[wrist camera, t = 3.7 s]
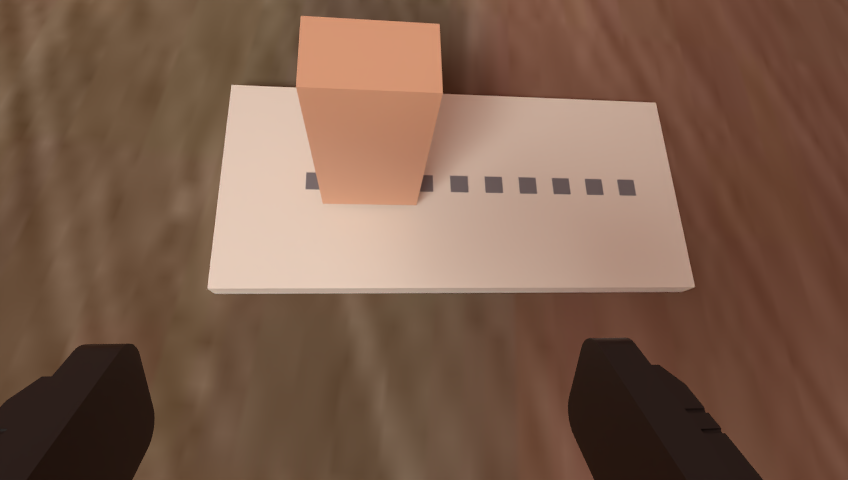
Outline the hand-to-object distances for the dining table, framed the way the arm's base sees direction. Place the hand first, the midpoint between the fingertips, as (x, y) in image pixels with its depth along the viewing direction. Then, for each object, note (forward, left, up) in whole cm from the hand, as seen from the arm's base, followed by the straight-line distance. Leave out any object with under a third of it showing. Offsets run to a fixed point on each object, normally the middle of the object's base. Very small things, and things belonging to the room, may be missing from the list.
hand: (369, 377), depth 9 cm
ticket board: (-11, +5, -16) cm, 20 cm away
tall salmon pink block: (-11, 0, -15) cm, 19 cm away
